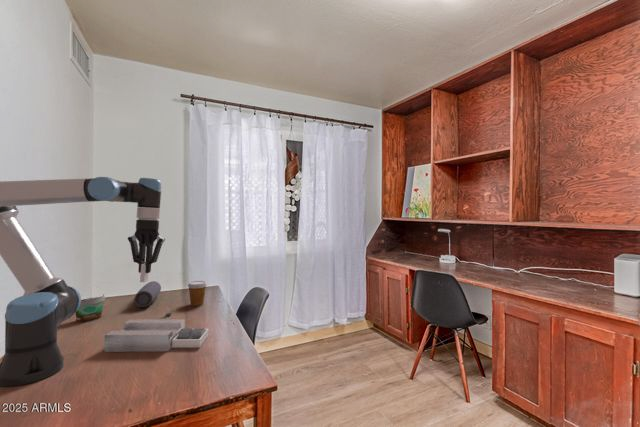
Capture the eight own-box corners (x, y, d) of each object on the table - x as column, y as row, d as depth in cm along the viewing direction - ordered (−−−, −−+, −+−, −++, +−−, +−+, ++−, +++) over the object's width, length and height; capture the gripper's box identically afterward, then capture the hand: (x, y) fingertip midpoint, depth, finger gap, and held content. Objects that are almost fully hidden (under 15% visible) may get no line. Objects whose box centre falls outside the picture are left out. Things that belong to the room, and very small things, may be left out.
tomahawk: (145, 334, 127) (145, 332, 127) (132, 331, 129) (132, 328, 129) (180, 317, 147) (180, 315, 147) (168, 314, 149) (168, 312, 149)
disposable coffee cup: (187, 303, 168) (187, 281, 168) (205, 301, 172) (206, 280, 172) (187, 308, 159) (188, 285, 159) (206, 306, 163) (207, 283, 163)
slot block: (167, 351, 110) (168, 334, 110) (104, 351, 109) (104, 335, 109) (184, 333, 126) (184, 319, 126) (129, 334, 125) (129, 319, 125)
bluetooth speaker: (144, 297, 176) (144, 280, 176) (161, 296, 179) (162, 279, 179) (132, 310, 154) (133, 290, 154) (153, 308, 157) (153, 289, 157)
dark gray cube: (189, 342, 117) (189, 332, 117) (178, 343, 116) (178, 332, 116) (192, 338, 121) (192, 328, 121) (181, 338, 120) (181, 328, 120)
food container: (76, 325, 133) (77, 302, 133) (72, 321, 137) (72, 299, 137) (109, 317, 143) (109, 296, 143) (104, 314, 147) (104, 294, 147)
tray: (199, 347, 113) (200, 339, 113) (172, 348, 113) (172, 340, 113) (208, 335, 124) (208, 328, 124) (183, 336, 124) (183, 328, 124)
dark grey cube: (190, 342, 116) (201, 342, 117) (190, 332, 116) (201, 332, 117) (194, 338, 120) (204, 338, 121) (194, 328, 120) (204, 328, 121)
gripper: (169, 220, 119) (165, 280, 119) (135, 218, 119) (131, 278, 118) (161, 220, 112) (156, 284, 112) (124, 218, 111) (120, 282, 111)
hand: (143, 281), depth 115 cm, fingers closed
